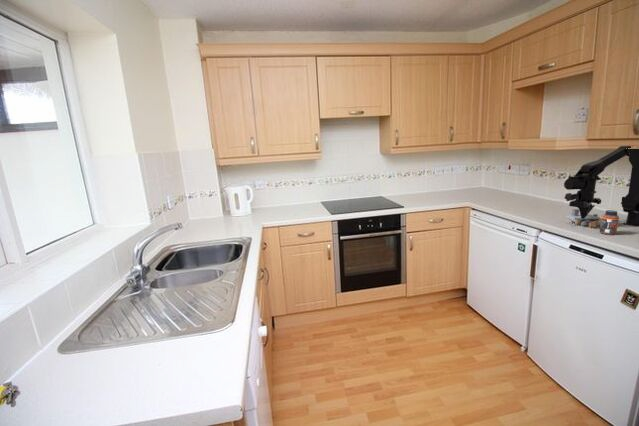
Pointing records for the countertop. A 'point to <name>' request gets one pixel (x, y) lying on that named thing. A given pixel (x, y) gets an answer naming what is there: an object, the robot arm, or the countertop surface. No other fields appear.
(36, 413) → the countertop surface
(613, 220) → the supplement bottle
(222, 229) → the countertop surface
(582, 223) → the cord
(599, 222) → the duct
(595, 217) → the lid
